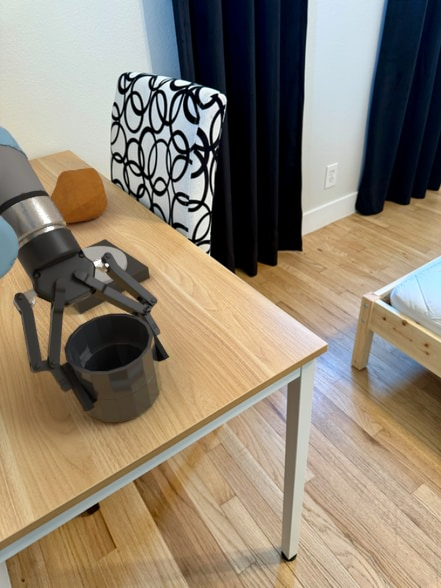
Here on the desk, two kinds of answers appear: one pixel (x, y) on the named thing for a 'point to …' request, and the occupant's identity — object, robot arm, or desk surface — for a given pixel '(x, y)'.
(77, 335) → the cup
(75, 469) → the desk surface
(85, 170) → the bread
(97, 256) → the scale
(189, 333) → the desk surface
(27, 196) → the robot arm
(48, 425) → the desk surface
